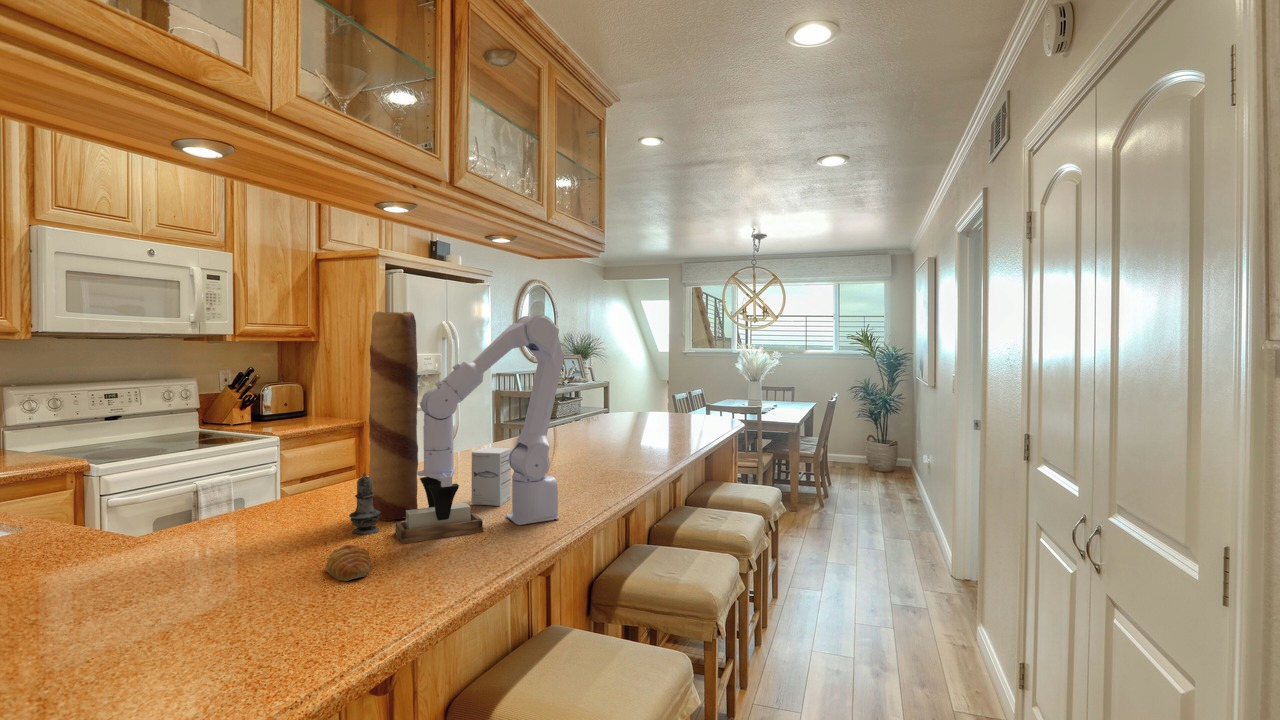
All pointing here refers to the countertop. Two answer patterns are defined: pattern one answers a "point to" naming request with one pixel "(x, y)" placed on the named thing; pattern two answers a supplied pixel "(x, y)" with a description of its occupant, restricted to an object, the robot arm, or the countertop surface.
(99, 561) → the countertop surface
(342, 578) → the pastry
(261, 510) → the countertop surface
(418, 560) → the countertop surface
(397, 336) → the wafer roll
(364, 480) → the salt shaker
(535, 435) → the robot arm
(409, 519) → the grey rectangular block
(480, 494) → the supplement box
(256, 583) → the countertop surface
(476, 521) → the tray
